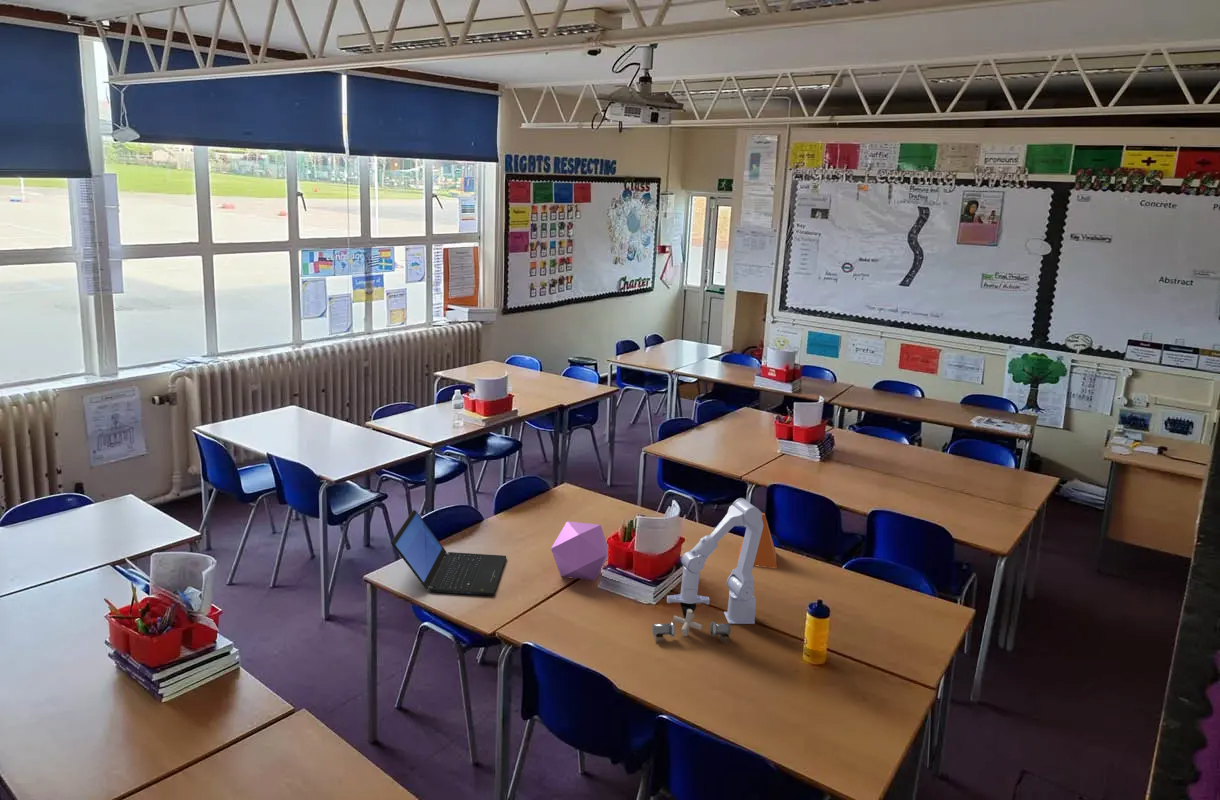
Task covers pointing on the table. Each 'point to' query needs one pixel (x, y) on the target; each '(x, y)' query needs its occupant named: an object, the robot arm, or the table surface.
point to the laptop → (445, 562)
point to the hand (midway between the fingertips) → (685, 621)
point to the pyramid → (765, 548)
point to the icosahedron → (580, 550)
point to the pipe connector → (687, 622)
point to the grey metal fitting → (663, 631)
